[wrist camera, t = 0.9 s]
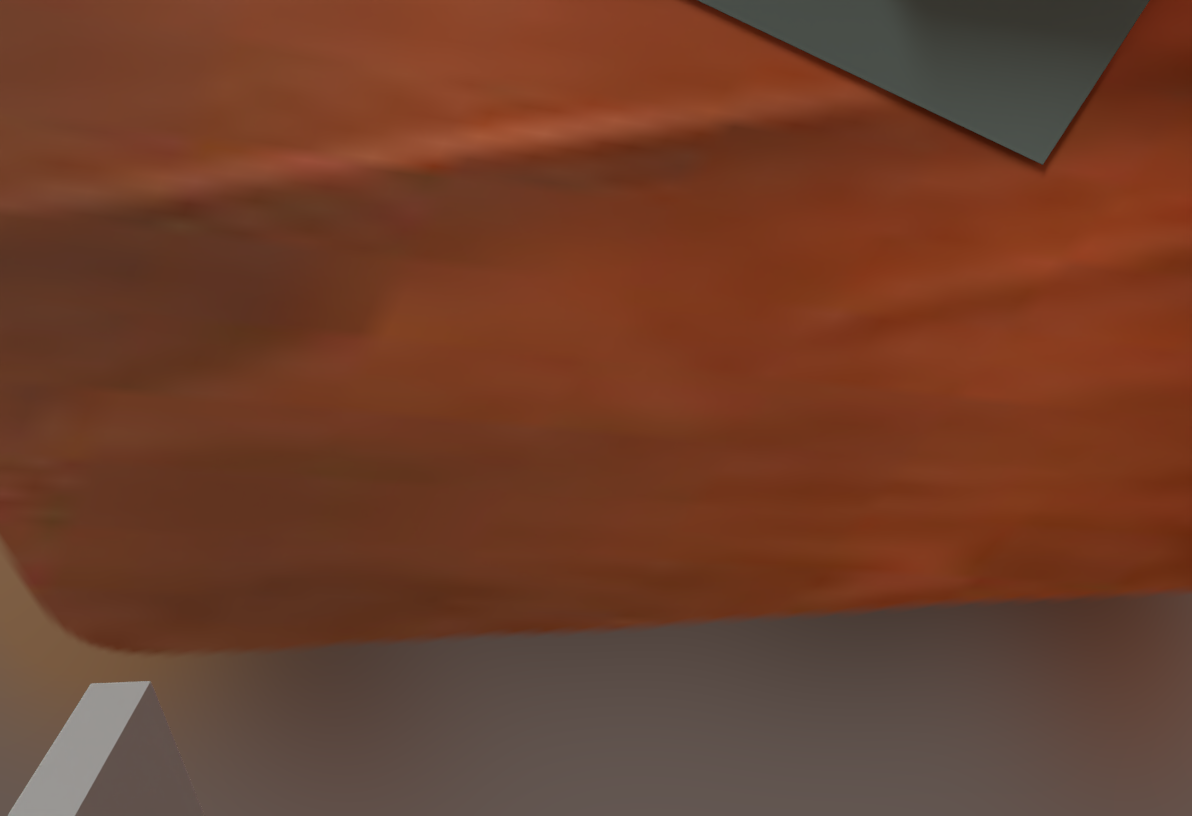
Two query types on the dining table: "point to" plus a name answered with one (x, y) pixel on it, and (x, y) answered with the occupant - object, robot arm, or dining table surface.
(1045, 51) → the felt mat
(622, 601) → the dining table surface
